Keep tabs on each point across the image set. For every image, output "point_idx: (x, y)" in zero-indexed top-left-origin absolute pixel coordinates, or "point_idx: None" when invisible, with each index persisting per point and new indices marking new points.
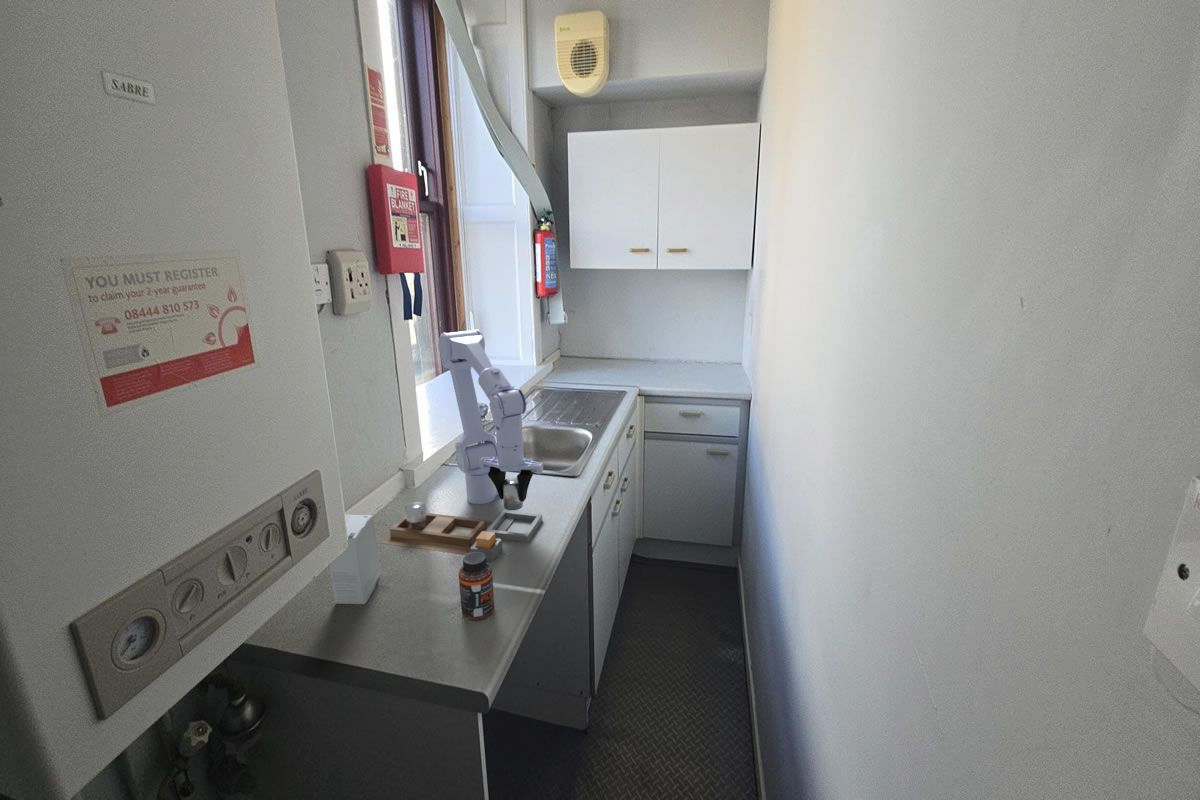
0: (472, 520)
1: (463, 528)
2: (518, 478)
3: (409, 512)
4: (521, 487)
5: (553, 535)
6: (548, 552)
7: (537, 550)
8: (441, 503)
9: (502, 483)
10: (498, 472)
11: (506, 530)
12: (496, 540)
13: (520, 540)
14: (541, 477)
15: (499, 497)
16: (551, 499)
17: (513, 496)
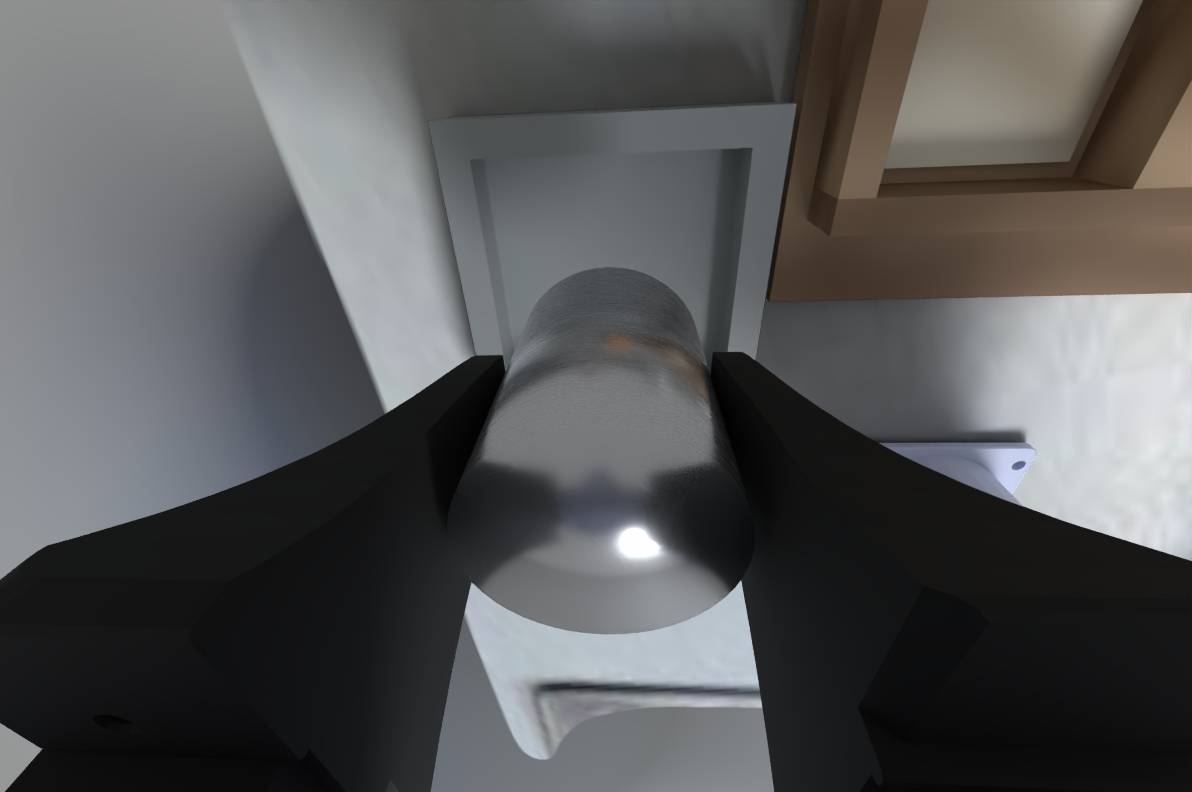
0: (952, 198)
1: (998, 149)
2: (202, 571)
3: None
4: (371, 445)
5: (367, 278)
6: (262, 58)
7: (347, 61)
8: (1160, 446)
9: (737, 488)
10: (906, 723)
11: (657, 236)
12: None
13: (496, 116)
14: (673, 674)
15: (752, 359)
16: None
17: (544, 349)
